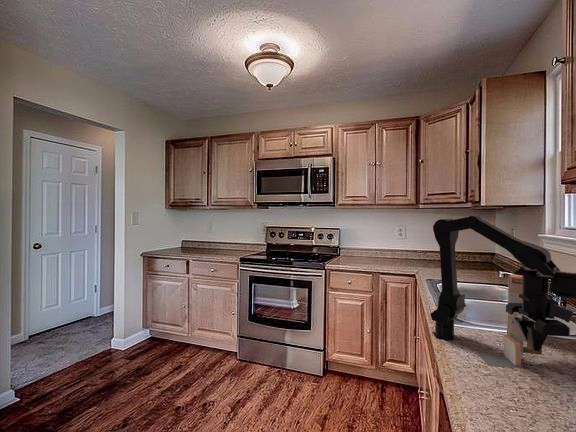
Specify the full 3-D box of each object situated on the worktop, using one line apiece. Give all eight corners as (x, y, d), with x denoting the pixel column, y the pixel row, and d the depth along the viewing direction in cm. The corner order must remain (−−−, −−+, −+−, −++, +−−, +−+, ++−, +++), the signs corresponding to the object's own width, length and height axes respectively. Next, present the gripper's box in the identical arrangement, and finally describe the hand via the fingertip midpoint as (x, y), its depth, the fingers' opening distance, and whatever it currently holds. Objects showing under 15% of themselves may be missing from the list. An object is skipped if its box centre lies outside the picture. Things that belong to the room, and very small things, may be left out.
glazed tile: (504, 355, 93) (503, 335, 93) (509, 355, 93) (508, 335, 93) (515, 365, 87) (514, 344, 87) (521, 366, 87) (520, 344, 87)
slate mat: (476, 354, 95) (476, 352, 95) (508, 356, 94) (508, 354, 94) (488, 368, 87) (488, 365, 87) (524, 370, 86) (524, 368, 86)
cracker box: (528, 343, 103) (528, 278, 102) (506, 337, 107) (506, 275, 107) (538, 331, 112) (539, 272, 111) (517, 327, 117) (518, 269, 116)
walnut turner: (532, 347, 92) (533, 330, 92) (545, 357, 86) (545, 338, 86) (509, 346, 93) (509, 329, 93) (520, 355, 87) (520, 337, 87)
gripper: (595, 304, 78) (593, 367, 79) (545, 285, 97) (544, 336, 97) (544, 302, 80) (543, 364, 80) (505, 284, 98) (504, 334, 99)
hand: (534, 348), depth 89 cm, fingers closed on walnut turner, 2 cm apart
